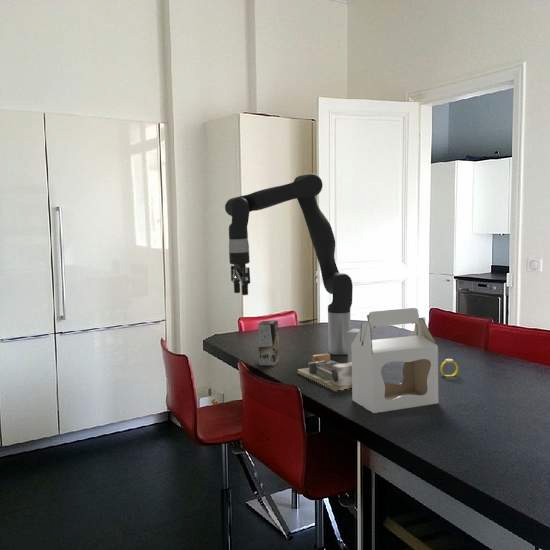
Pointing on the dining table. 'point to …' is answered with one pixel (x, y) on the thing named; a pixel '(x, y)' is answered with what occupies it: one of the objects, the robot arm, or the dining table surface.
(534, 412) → the dining table surface
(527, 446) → the dining table surface
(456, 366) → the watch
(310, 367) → the gauge marker
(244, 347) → the dining table surface
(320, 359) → the gauge plunger
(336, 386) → the gauge frame
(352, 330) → the supplement box
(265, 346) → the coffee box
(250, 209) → the robot arm
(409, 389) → the gable box
